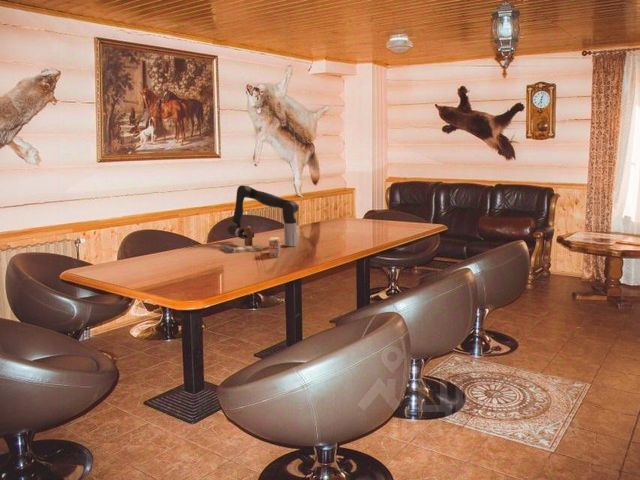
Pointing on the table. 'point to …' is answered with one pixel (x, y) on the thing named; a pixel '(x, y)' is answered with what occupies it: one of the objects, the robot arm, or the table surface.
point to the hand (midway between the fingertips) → (249, 236)
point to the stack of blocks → (274, 247)
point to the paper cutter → (241, 248)
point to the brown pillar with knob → (248, 236)
